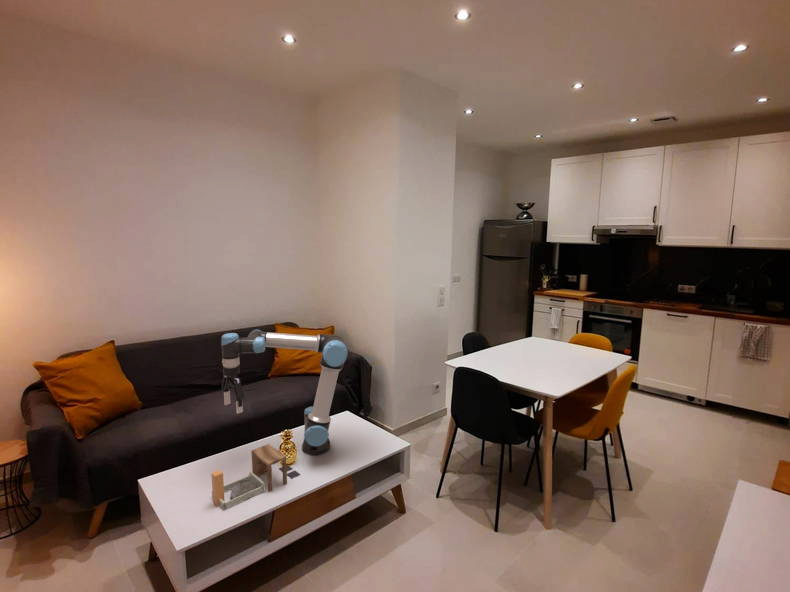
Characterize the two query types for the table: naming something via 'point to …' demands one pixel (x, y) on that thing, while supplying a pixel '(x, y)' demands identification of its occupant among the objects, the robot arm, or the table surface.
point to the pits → (291, 474)
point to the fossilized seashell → (242, 488)
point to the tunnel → (268, 462)
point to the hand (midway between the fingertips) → (233, 408)
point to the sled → (219, 488)
